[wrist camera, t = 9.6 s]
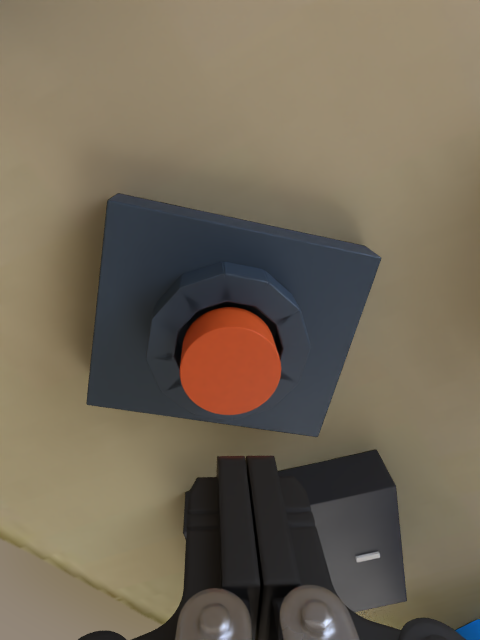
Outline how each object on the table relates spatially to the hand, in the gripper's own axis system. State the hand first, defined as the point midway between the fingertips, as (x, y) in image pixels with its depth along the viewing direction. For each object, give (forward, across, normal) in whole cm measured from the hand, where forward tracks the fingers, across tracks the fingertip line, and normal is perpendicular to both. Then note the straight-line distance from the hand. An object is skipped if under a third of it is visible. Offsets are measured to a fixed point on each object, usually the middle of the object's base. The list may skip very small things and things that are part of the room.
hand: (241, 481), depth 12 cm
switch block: (+12, 0, 0) cm, 12 cm away
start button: (+8, 0, 0) cm, 8 cm away
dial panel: (+12, -5, +15) cm, 20 cm away
